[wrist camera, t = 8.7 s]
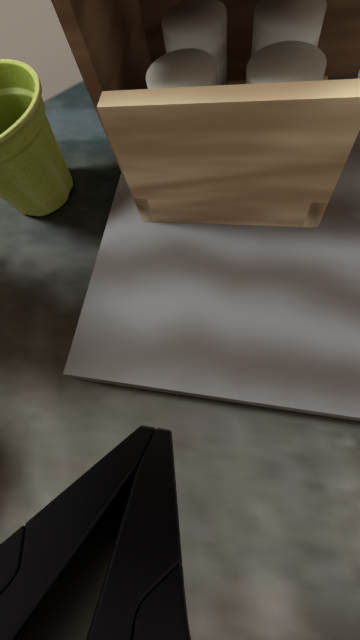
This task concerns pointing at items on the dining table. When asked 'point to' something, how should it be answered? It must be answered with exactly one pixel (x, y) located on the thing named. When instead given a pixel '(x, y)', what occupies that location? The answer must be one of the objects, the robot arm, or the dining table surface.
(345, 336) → the wooden display stand
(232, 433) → the dining table surface
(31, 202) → the plant pot
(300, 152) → the tray
